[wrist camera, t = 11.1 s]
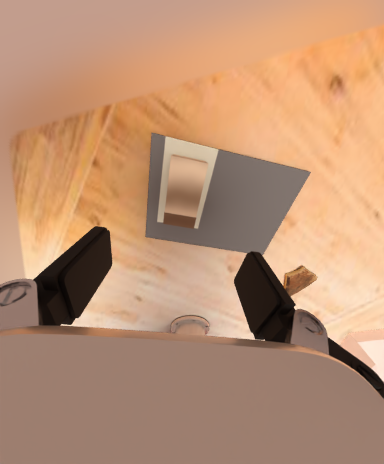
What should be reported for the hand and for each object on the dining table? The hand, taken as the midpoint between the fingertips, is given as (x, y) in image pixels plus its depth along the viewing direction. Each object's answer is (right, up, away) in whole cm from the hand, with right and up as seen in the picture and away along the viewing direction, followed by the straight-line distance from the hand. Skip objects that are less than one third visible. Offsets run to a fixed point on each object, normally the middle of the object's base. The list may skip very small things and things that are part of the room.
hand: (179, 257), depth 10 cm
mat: (+6, +6, +17) cm, 19 cm away
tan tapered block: (0, +9, +15) cm, 17 cm away
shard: (+29, -11, +29) cm, 43 cm away
